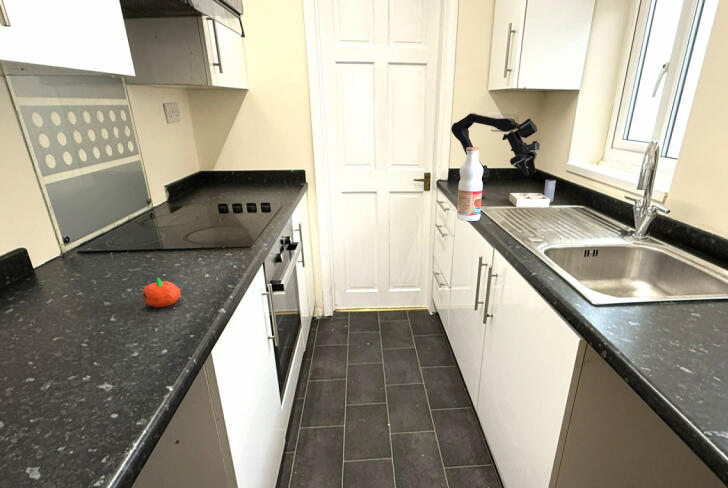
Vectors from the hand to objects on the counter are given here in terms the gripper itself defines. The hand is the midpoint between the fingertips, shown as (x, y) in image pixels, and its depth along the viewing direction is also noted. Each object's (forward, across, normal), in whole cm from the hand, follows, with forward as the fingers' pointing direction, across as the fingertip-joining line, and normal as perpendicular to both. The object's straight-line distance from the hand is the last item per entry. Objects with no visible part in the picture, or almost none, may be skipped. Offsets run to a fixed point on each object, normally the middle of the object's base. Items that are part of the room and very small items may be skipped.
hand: (531, 174), depth 189 cm
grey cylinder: (+15, +12, +3) cm, 19 cm away
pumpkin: (-4, -156, +31) cm, 159 cm away
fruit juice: (+6, -43, +16) cm, 46 cm away
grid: (+11, +1, +8) cm, 14 cm away
